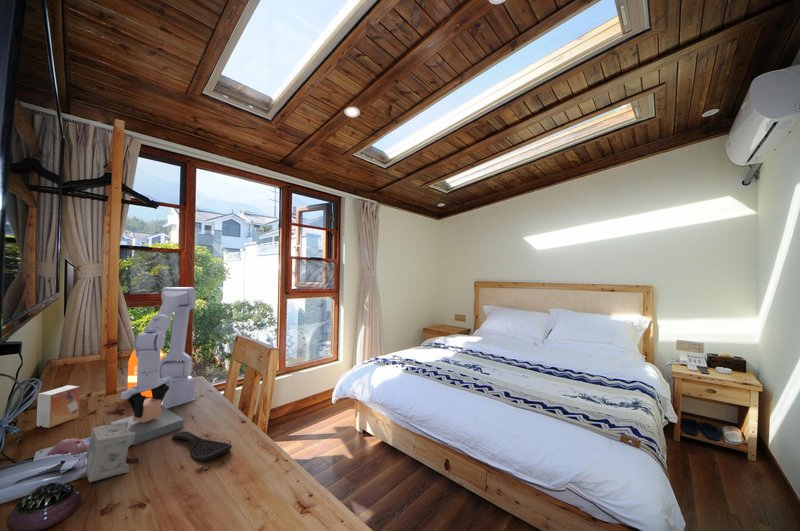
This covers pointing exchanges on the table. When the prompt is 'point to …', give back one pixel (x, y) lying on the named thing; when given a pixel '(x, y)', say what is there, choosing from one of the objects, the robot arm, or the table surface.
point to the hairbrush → (203, 446)
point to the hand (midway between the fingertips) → (147, 413)
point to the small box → (58, 406)
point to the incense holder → (108, 451)
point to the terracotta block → (149, 410)
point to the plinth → (152, 425)
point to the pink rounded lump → (69, 447)
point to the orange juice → (133, 373)
